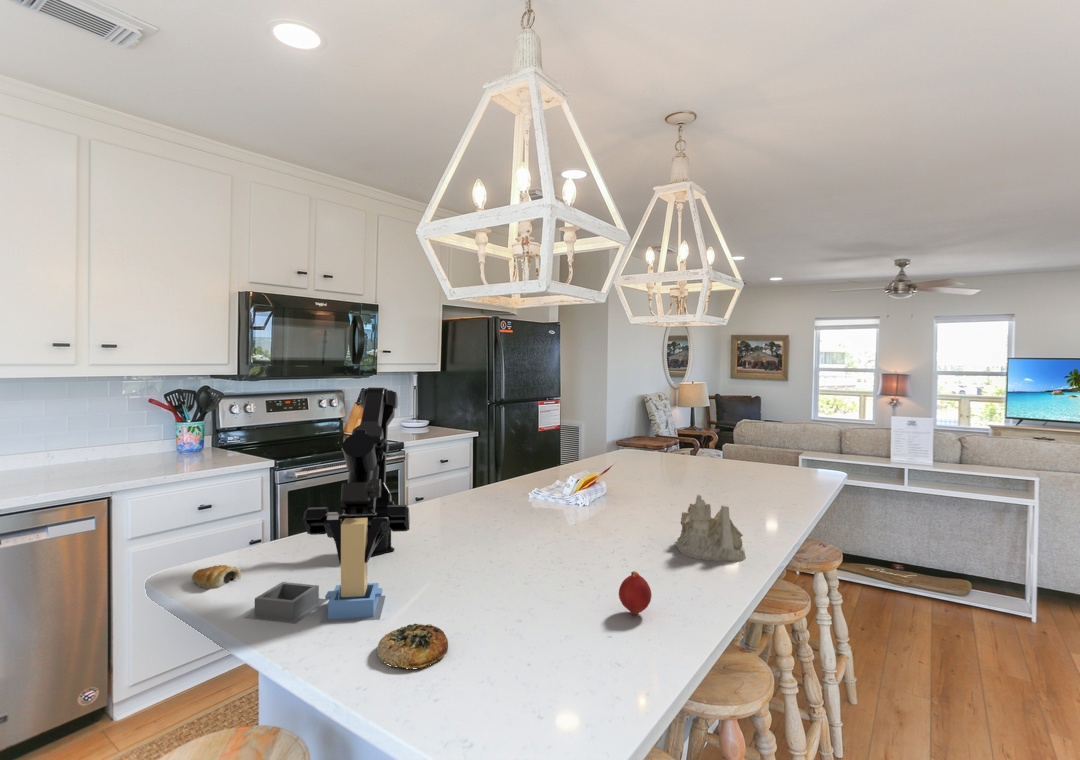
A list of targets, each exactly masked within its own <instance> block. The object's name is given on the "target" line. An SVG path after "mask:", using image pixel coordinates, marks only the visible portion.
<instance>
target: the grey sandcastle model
mask: <svg viewBox="0 0 1080 760" xmlns="http://www.w3.org/2000/svg"><path fill="white" fill-rule="evenodd" d="M702 497H703V496H702V495H701V494H699V493H698V494H697V495H696V498H695V503H689V506H688V508H687V511H681V517H680V524H681V530H680V536H679V537H677V540H676V545H675V547H676V548H677V549H678V551H679V552H680V551H681V552H680V553H682V554H683V555H685V556H687V557H689V558H693V557H694V558H693V559H699V560H705V561H719V562H720V561H721V562H734V563H737V562H738V563H739V562H742V561H745V560H746V559H747V557H746V550H745V548H744V546H743V545H744V544H743V539H742V537H743V536H744V534H743V533H742V532H741V531H740V529H739V528H738V527H737V526H736V525H735V524H734V523H733V522H732V520H731V517H730V508H729V505H728V504H722V505H721V506H720V509H719V511H718V512H717V513H716V514H715V516H714V517H712V508H711V503H706V500H705V499H703V498H702Z"/></svg>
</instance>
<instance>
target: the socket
mask: <svg viewBox="0 0 1080 760" xmlns="http://www.w3.org/2000/svg"><path fill="white" fill-rule="evenodd" d="M319 587H320V585H317V584H306V583H298V582H296V583H295V582H289V581H288V582H287V581H282V582H279V583H278V584H276V585H275V586H273V587H272V588H270V589H267V591H265V592H263V593H262V594H260V595H258V596H256V597H254V611H252V612H251V613H249V614H248V615H246V616H244V617H243V618H244V619H251V620H257V621H267V622H277V623H284V624H298V622H300V621H301V620H303V619H304V618H305V617H307V616H308V615H310V614H311V613H312V612H313V611H315V610H316V609H317V608H319V607H320V606H322V605H324V603H326V602H327V601H328V600H325V598H320V593H319V591H320V588H319Z"/></svg>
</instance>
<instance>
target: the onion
mask: <svg viewBox="0 0 1080 760" xmlns="http://www.w3.org/2000/svg"><path fill="white" fill-rule="evenodd" d="M630 573H631V575H629V576H627V577H626V578H624V579H623V580H622V582H621V583H620V586H619V589H618V598H619V600H620V602H621V604H622V606H623V607H624V608H625V609H627V610H628V611H629V612H630V613H631V614H632V615H634V616H635V615H636V616H637V615H639V614H640V613H642V612H643V611H645V610H646V609H647V608H648V607H649V605H650V603H651V601H652V595H653V594H652V590H651V587H650V585H649V583H648V582H647V580H646V579H645V578H644V577H643V576H641V575H640V573H639V572H637V571H636V570H633V571H632V572H630Z"/></svg>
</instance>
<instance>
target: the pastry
mask: <svg viewBox="0 0 1080 760" xmlns="http://www.w3.org/2000/svg"><path fill="white" fill-rule="evenodd" d="M241 578H242V572H241V570H240V569H239V568H238V567H237V566H229V565H227V564H223V565H222V564H219V565H213V566H210V567H204V568H200V569H198V570H195V572H193V574H192V576H191V580H192V581H193V582H194V584H196V585H197V586H198V587H199V588H203V589H207V590H211V589H220V588H221V587H223V586H225V585H228V584H230V583H231V582H236V581H240V580H241Z"/></svg>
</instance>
